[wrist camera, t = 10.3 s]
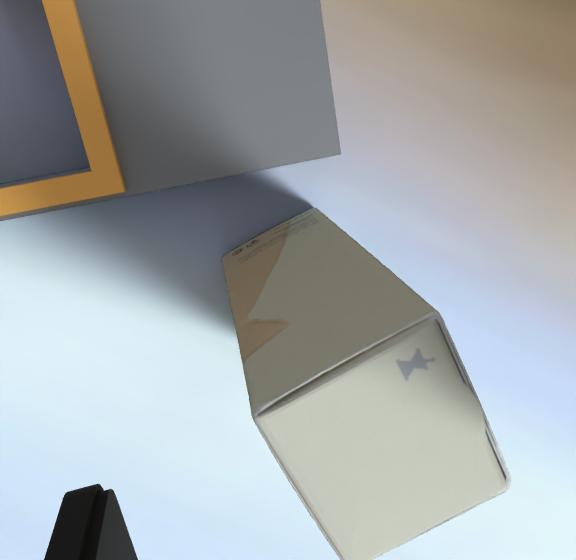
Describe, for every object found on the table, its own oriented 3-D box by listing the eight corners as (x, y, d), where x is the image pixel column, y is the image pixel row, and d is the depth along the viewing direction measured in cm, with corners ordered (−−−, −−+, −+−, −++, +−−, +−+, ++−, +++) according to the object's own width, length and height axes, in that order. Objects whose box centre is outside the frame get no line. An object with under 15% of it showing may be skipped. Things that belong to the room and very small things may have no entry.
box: (218, 255, 20) (238, 403, 10) (317, 202, 20) (441, 297, 10) (279, 362, 22) (350, 584, 12) (370, 313, 22) (523, 492, 12)
